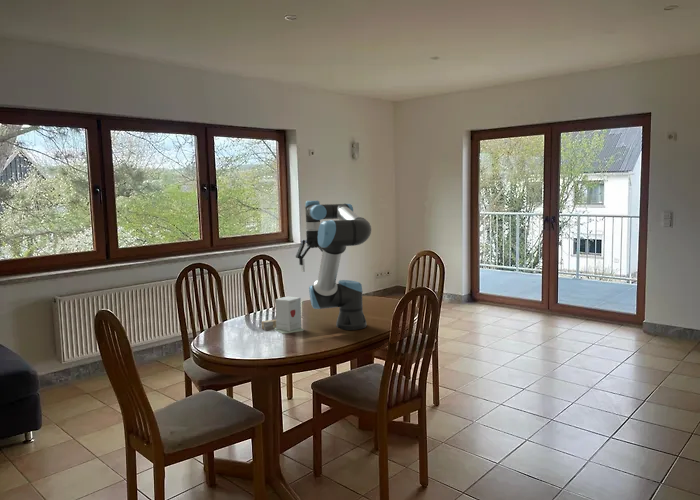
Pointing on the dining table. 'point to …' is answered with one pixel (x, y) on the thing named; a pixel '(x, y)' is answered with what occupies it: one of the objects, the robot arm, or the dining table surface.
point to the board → (268, 325)
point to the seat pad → (289, 331)
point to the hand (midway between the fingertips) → (314, 270)
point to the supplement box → (288, 313)
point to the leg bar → (269, 320)
